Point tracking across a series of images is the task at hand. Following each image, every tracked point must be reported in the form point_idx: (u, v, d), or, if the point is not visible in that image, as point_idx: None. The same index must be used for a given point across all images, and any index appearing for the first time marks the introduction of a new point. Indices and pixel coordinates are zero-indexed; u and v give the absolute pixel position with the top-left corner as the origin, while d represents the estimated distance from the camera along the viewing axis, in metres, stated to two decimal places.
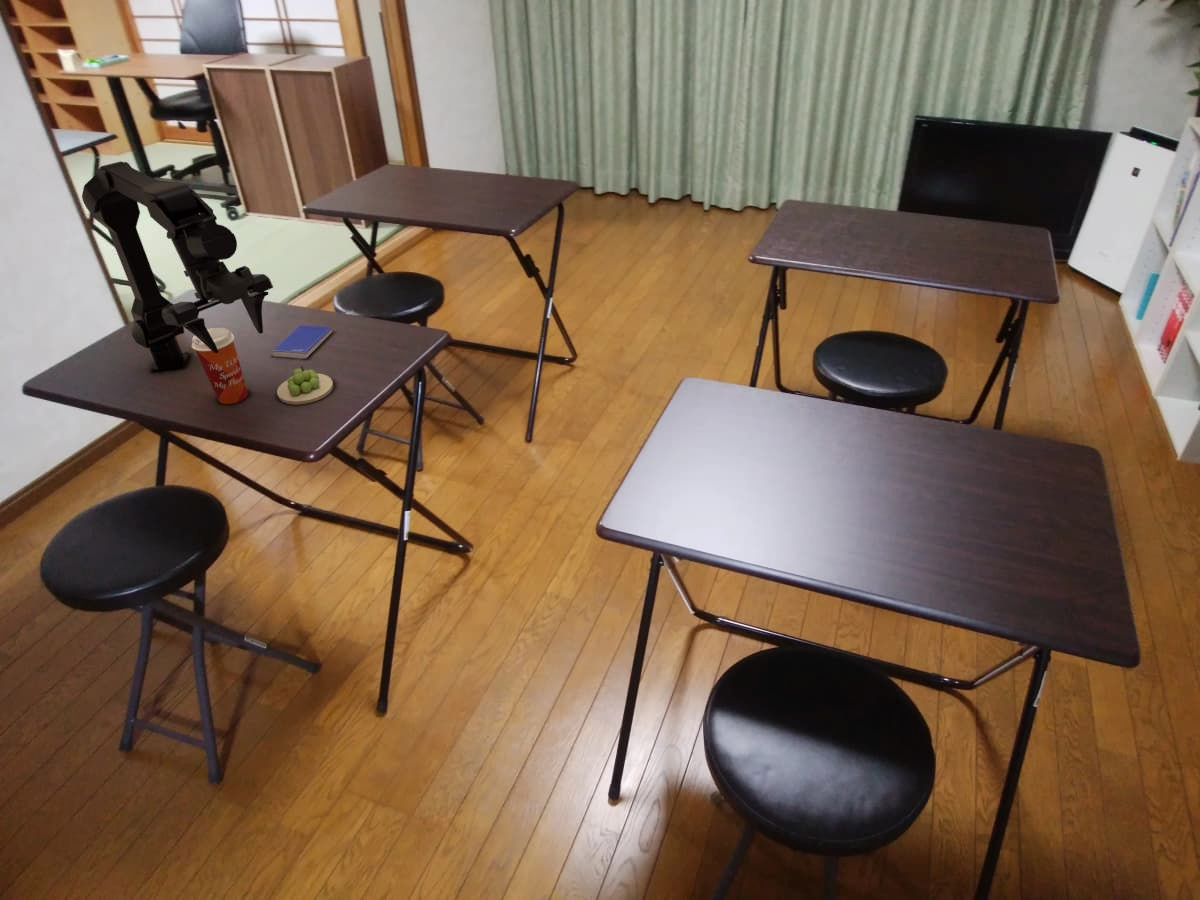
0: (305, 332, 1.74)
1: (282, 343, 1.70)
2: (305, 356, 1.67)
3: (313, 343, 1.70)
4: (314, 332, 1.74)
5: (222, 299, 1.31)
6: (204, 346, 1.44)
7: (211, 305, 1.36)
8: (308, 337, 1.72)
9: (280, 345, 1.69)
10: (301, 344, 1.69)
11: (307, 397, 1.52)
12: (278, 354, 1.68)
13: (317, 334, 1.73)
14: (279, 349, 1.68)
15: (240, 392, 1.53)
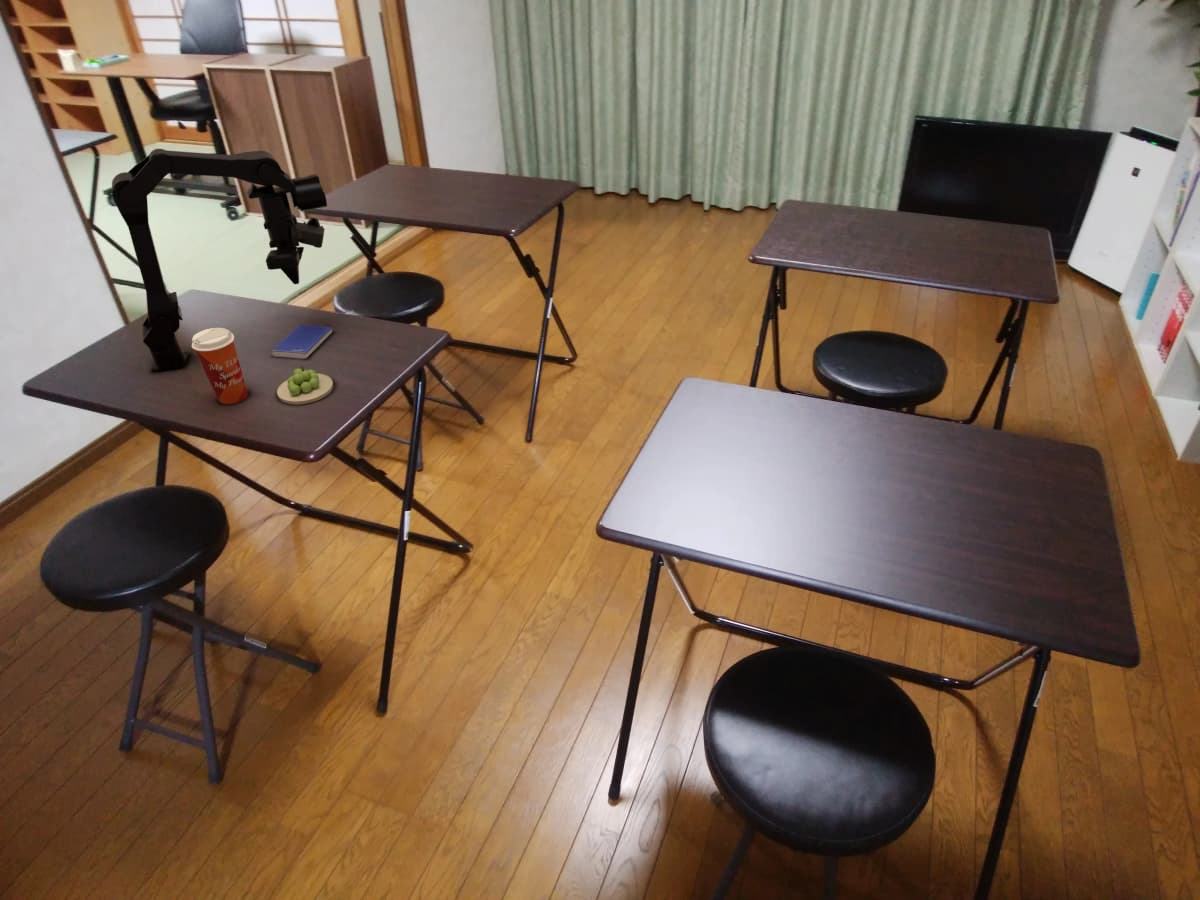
0: (305, 332, 1.74)
1: (282, 343, 1.70)
2: (305, 356, 1.67)
3: (313, 343, 1.70)
4: (314, 332, 1.74)
5: (317, 244, 1.64)
6: (204, 346, 1.44)
7: None
8: (308, 337, 1.72)
9: (280, 345, 1.69)
10: (301, 344, 1.69)
11: (307, 397, 1.52)
12: (278, 354, 1.68)
13: (317, 334, 1.73)
14: (279, 349, 1.68)
15: (240, 392, 1.53)
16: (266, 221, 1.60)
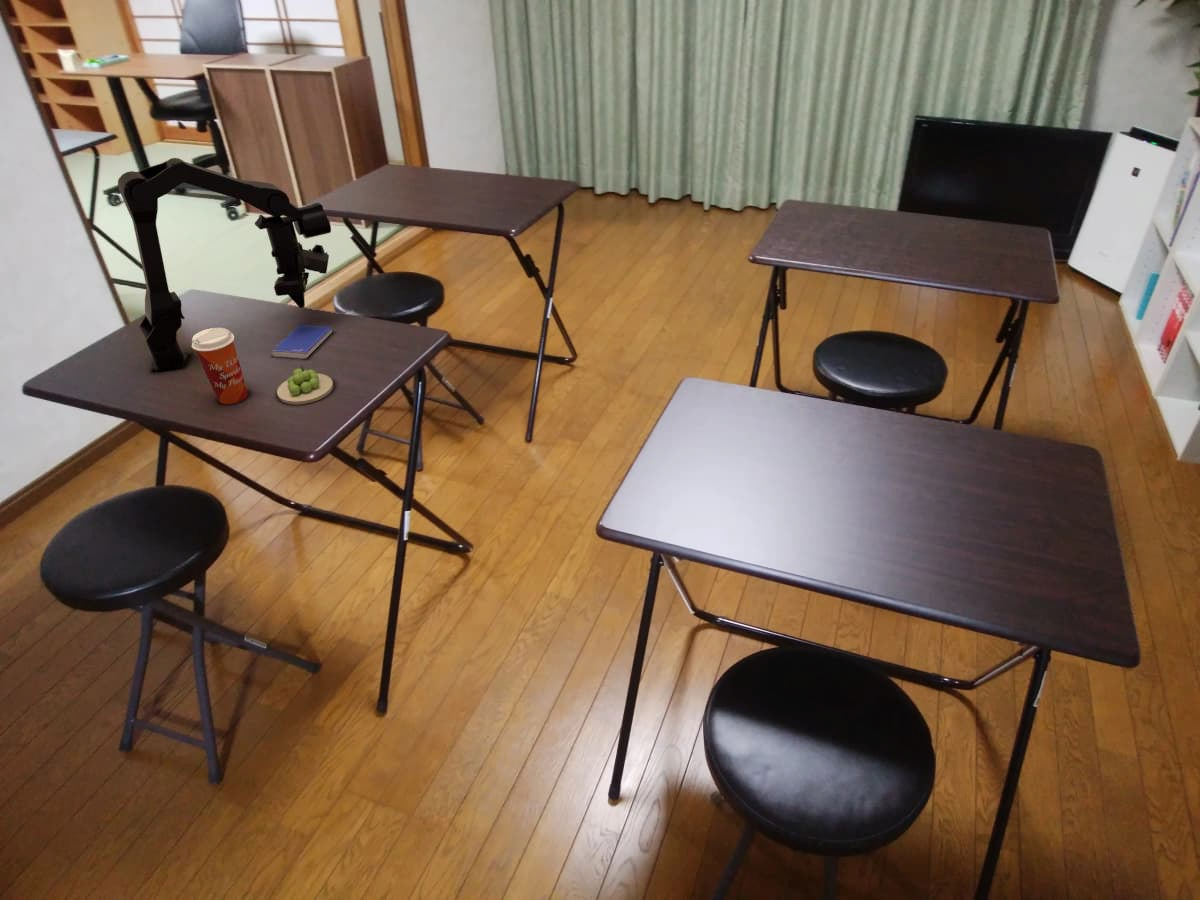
0: (305, 332, 1.74)
1: (282, 343, 1.70)
2: (305, 356, 1.67)
3: (313, 343, 1.70)
4: (314, 332, 1.74)
5: (322, 270, 1.72)
6: (204, 346, 1.44)
7: None
8: (308, 337, 1.72)
9: (280, 345, 1.69)
10: (301, 344, 1.69)
11: (307, 397, 1.52)
12: (278, 354, 1.68)
13: (317, 334, 1.73)
14: (279, 349, 1.68)
15: (240, 392, 1.53)
16: (274, 249, 1.68)
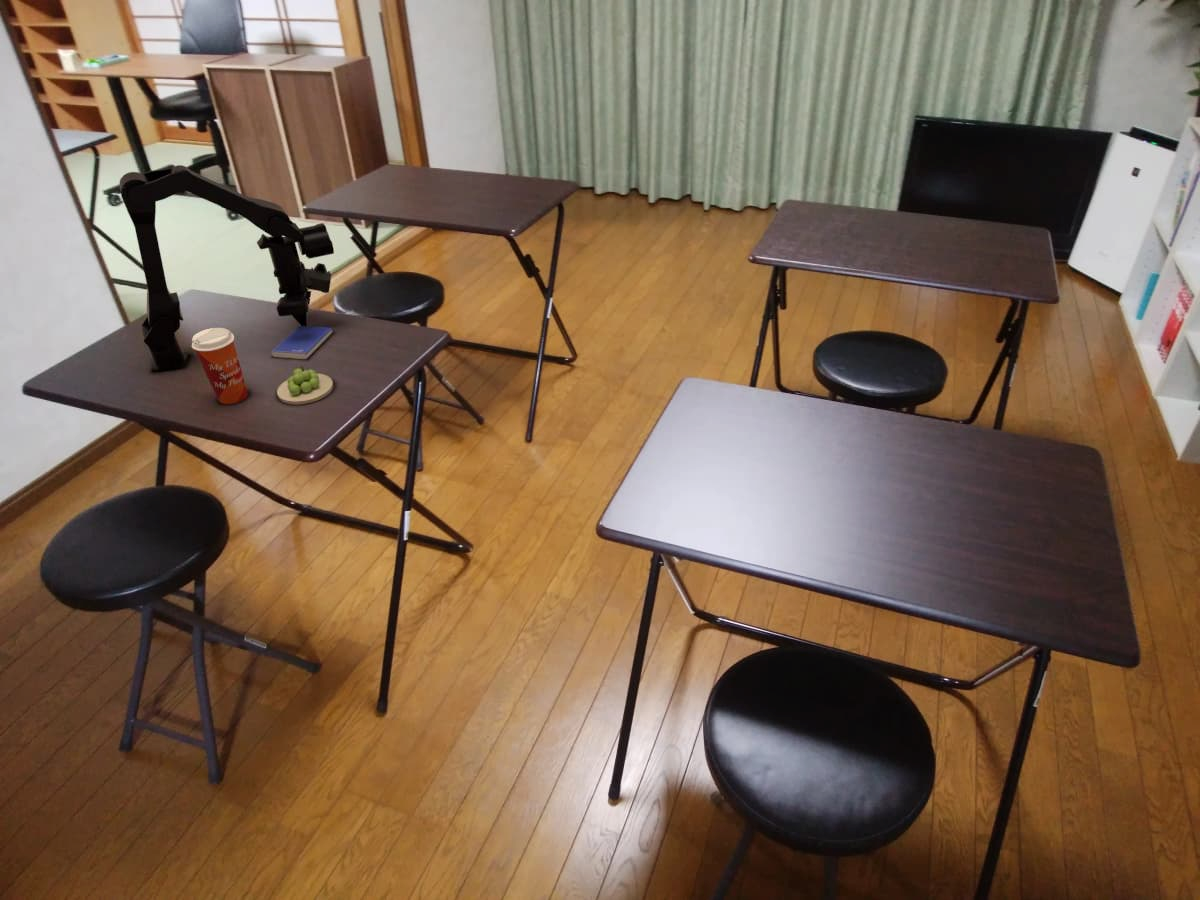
0: (305, 332, 1.74)
1: (282, 343, 1.70)
2: (305, 356, 1.67)
3: (313, 343, 1.70)
4: (315, 332, 1.74)
5: (325, 289, 1.71)
6: (204, 346, 1.44)
7: None
8: (308, 337, 1.72)
9: (280, 346, 1.69)
10: (301, 345, 1.69)
11: (307, 397, 1.52)
12: (279, 355, 1.68)
13: (317, 334, 1.73)
14: (279, 350, 1.67)
15: (240, 392, 1.53)
16: (276, 269, 1.67)
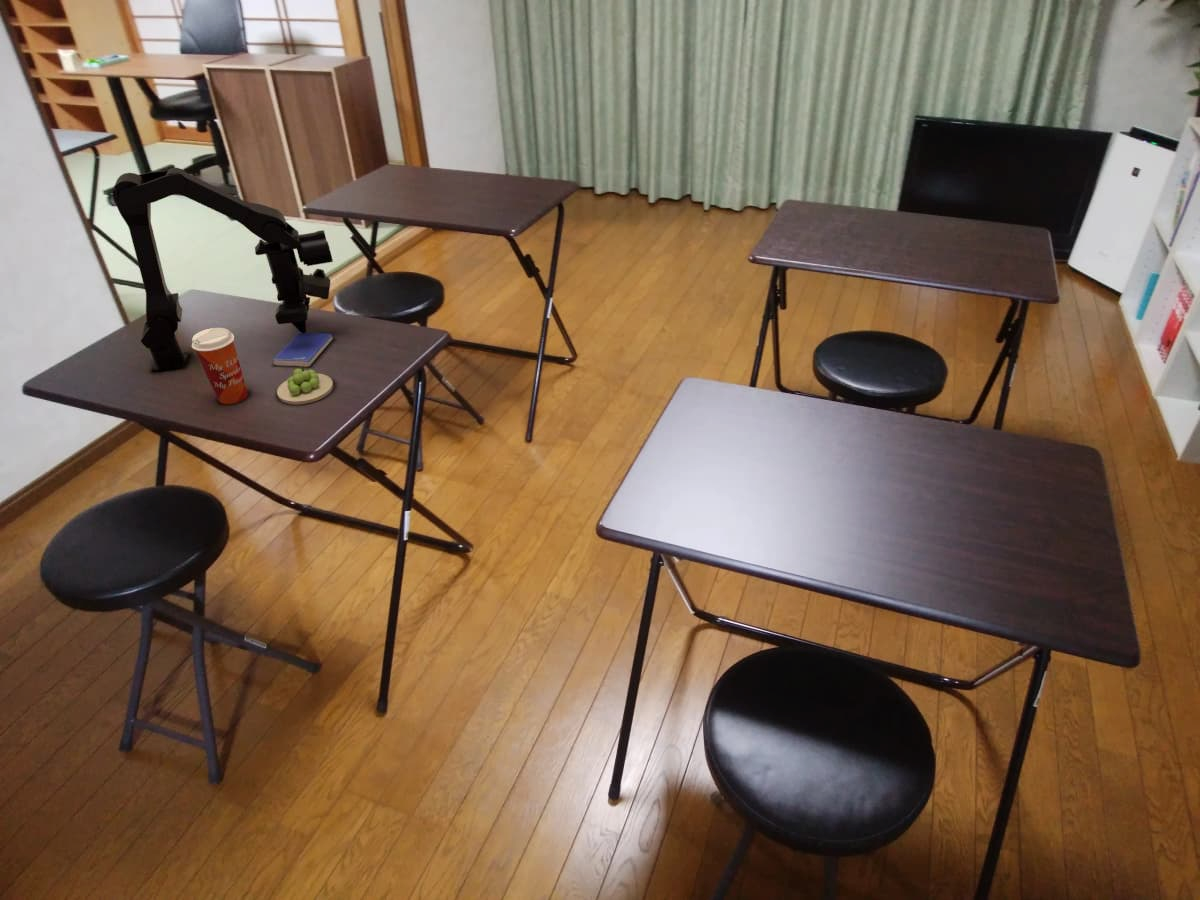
0: (306, 339, 1.71)
1: (283, 351, 1.67)
2: (308, 364, 1.64)
3: (315, 350, 1.67)
4: (315, 339, 1.71)
5: (324, 295, 1.68)
6: (204, 346, 1.44)
7: None
8: (309, 344, 1.69)
9: (281, 353, 1.66)
10: (303, 352, 1.66)
11: (307, 397, 1.52)
12: (280, 363, 1.65)
13: (318, 341, 1.70)
14: (281, 358, 1.64)
15: (240, 392, 1.53)
16: (274, 276, 1.64)
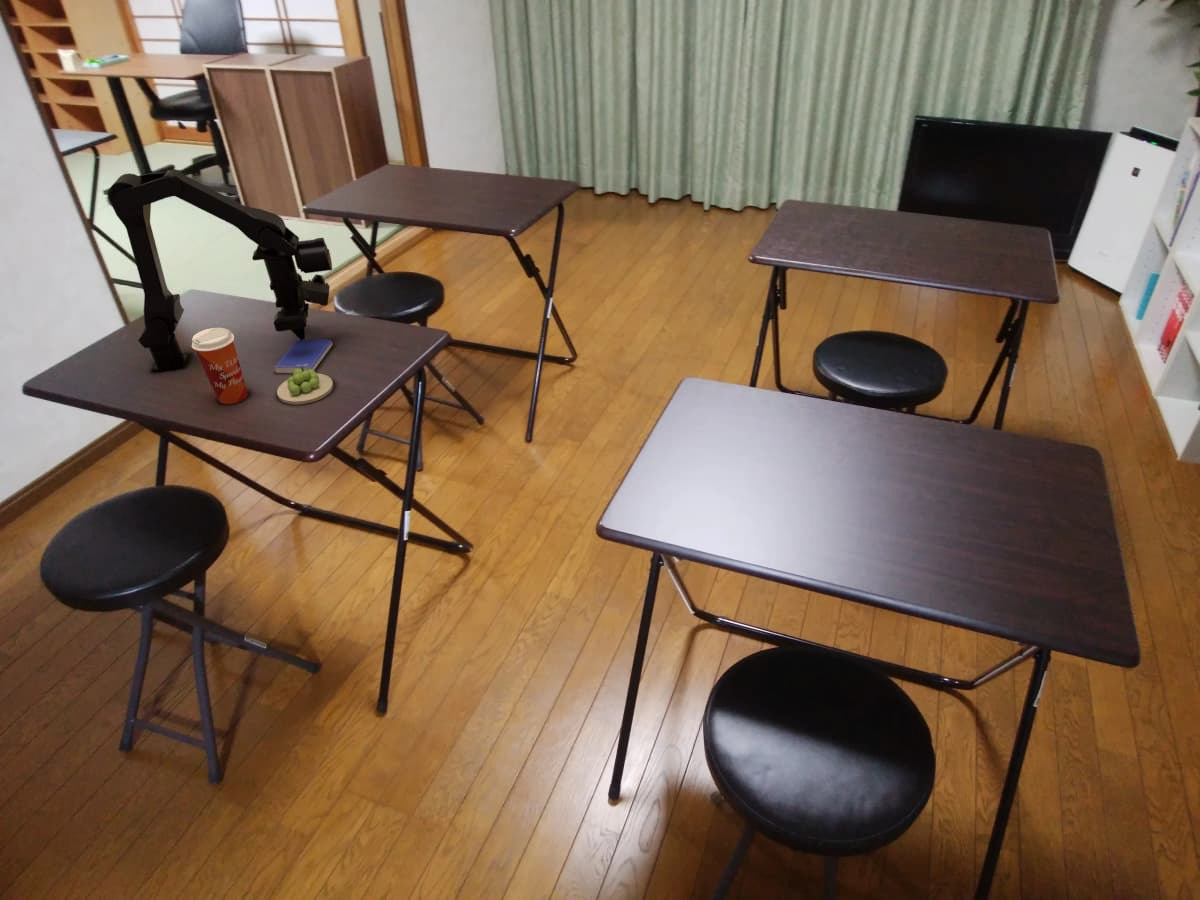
0: (305, 346, 1.69)
1: (284, 359, 1.64)
2: None
3: (317, 357, 1.65)
4: (315, 345, 1.69)
5: (323, 302, 1.65)
6: (204, 346, 1.44)
7: None
8: (310, 351, 1.67)
9: (282, 361, 1.63)
10: (304, 359, 1.64)
11: (307, 397, 1.52)
12: (282, 370, 1.62)
13: (318, 347, 1.68)
14: (282, 365, 1.62)
15: (240, 392, 1.53)
16: (272, 282, 1.61)
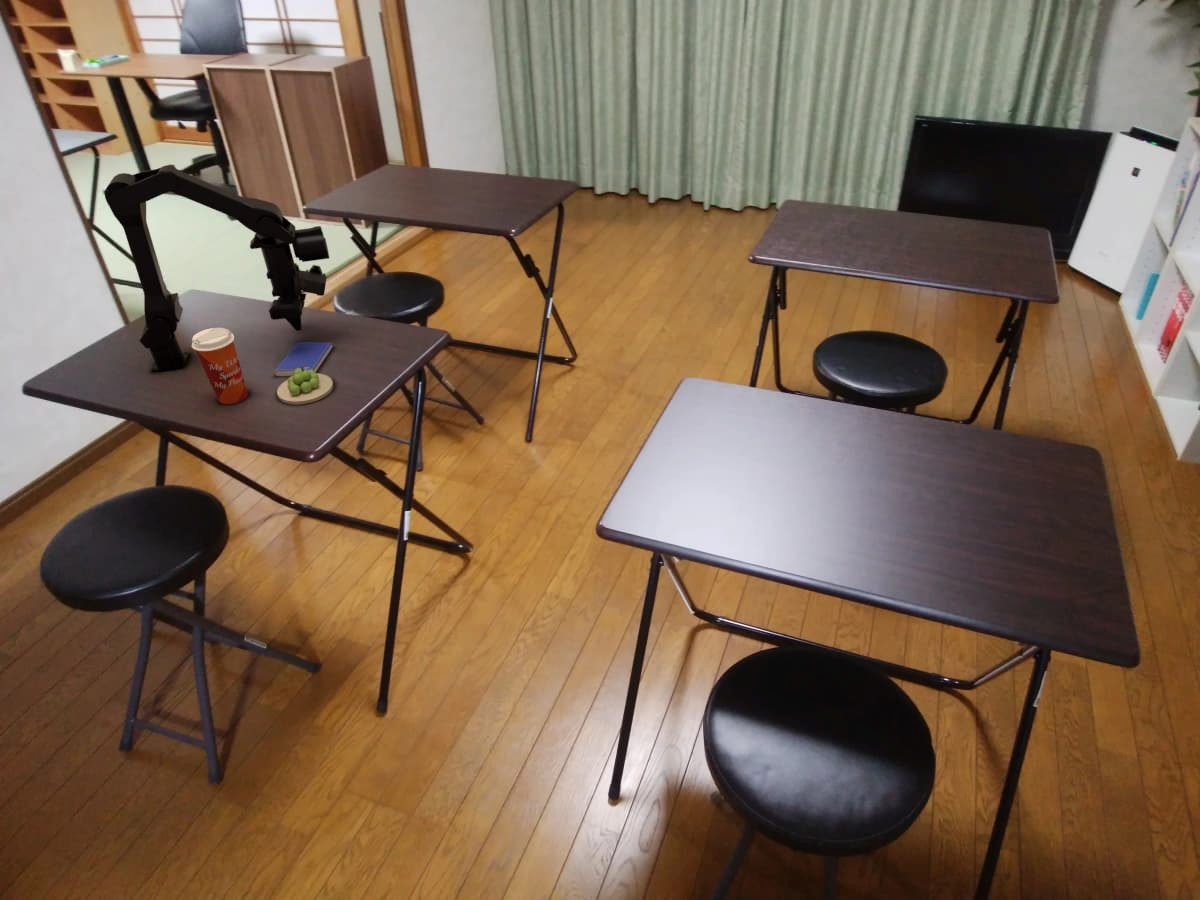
0: (305, 349, 1.67)
1: (284, 362, 1.63)
2: None
3: (317, 360, 1.64)
4: (315, 348, 1.68)
5: (320, 292, 1.65)
6: (204, 346, 1.44)
7: None
8: (310, 354, 1.66)
9: (282, 364, 1.62)
10: (305, 362, 1.63)
11: (307, 397, 1.52)
12: (282, 373, 1.61)
13: (318, 350, 1.67)
14: (283, 368, 1.61)
15: (240, 392, 1.53)
16: (269, 271, 1.61)
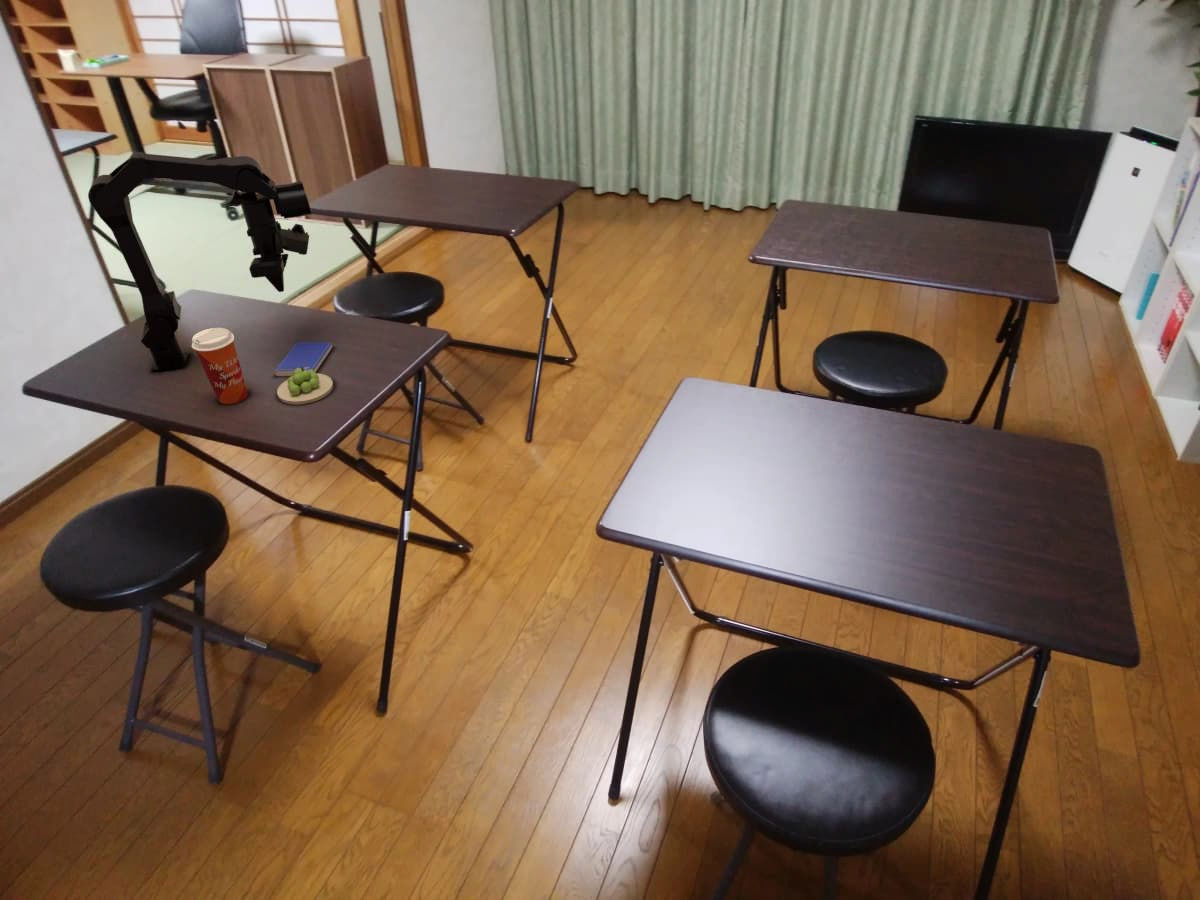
0: (305, 349, 1.67)
1: (284, 362, 1.63)
2: None
3: (317, 360, 1.64)
4: (315, 348, 1.68)
5: (302, 250, 1.61)
6: (204, 346, 1.44)
7: None
8: (310, 354, 1.66)
9: (282, 364, 1.62)
10: (305, 362, 1.63)
11: (307, 397, 1.52)
12: (282, 373, 1.61)
13: (318, 350, 1.67)
14: (283, 368, 1.61)
15: (240, 392, 1.53)
16: (249, 228, 1.57)
